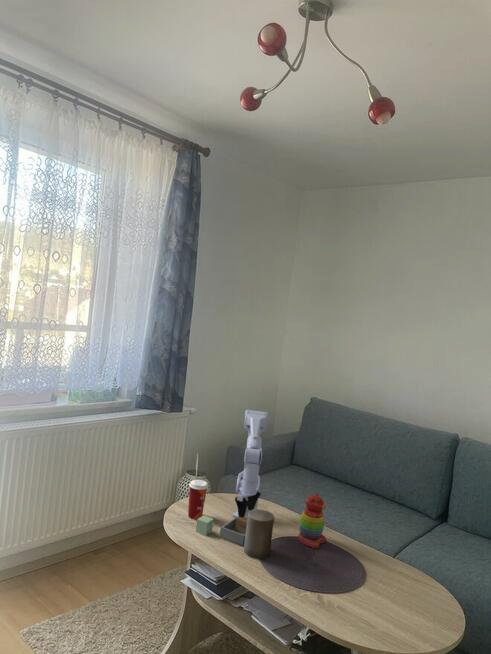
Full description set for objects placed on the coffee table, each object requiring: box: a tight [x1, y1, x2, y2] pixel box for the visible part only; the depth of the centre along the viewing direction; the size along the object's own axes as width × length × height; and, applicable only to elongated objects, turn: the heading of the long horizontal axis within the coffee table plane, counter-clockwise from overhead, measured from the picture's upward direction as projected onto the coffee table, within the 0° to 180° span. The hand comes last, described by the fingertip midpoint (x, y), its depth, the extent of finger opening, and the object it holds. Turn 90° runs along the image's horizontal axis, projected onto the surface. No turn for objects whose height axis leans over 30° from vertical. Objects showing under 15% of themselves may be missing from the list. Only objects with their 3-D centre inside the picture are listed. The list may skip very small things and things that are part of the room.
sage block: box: [195, 515, 215, 536], centre depth 184 cm, size 4×4×5 cm
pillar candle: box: [243, 508, 275, 559], centre depth 174 cm, size 10×10×15 cm
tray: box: [219, 516, 246, 548], centre depth 184 cm, size 14×10×4 cm
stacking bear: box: [297, 493, 327, 549], centre depth 187 cm, size 11×10×18 cm
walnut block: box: [235, 516, 248, 534], centre depth 187 cm, size 4×4×5 cm
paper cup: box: [187, 479, 209, 520], centre depth 196 cm, size 8×8×14 cm
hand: (246, 513), depth 187 cm, fingers open, 7 cm apart
